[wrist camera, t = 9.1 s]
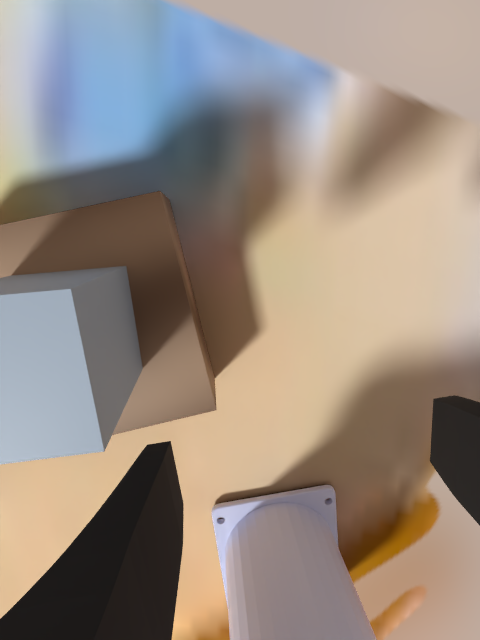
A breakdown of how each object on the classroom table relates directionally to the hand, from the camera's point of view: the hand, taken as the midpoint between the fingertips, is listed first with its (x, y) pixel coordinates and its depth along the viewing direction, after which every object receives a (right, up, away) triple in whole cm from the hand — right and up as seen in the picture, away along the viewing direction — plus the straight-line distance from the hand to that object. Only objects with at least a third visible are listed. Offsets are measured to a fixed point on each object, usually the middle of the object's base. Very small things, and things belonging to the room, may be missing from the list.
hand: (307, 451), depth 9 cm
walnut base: (-9, +4, +9) cm, 14 cm away
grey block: (-9, +3, +5) cm, 11 cm away
